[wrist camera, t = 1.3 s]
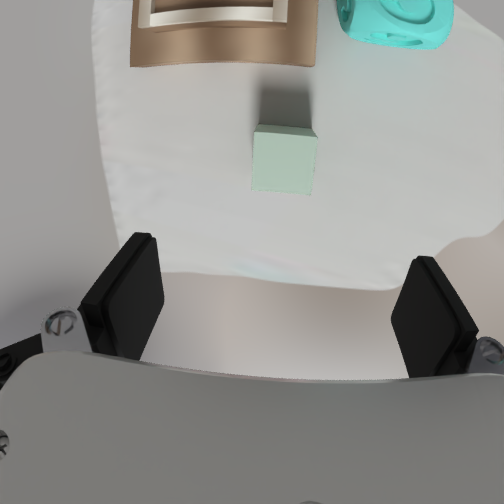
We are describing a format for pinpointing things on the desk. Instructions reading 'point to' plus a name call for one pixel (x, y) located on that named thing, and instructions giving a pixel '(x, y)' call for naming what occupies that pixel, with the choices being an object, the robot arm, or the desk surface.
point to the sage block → (283, 159)
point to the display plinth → (223, 32)
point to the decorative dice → (397, 21)
